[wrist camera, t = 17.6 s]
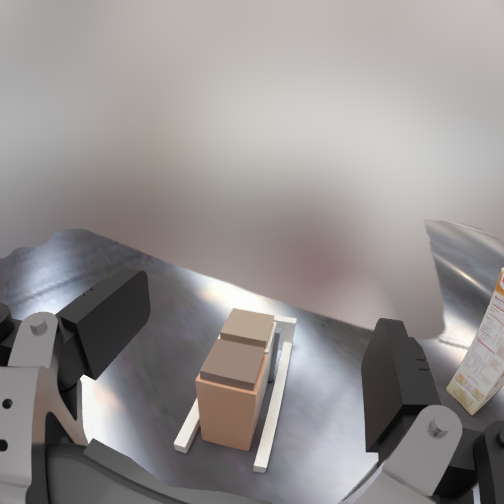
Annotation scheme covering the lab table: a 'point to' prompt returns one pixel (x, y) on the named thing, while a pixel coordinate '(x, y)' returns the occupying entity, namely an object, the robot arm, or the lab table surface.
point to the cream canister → (251, 333)
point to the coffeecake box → (483, 358)
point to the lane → (267, 437)
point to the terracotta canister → (231, 393)
